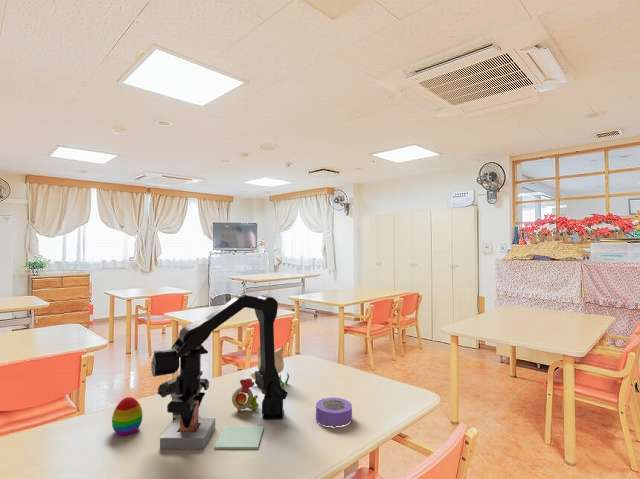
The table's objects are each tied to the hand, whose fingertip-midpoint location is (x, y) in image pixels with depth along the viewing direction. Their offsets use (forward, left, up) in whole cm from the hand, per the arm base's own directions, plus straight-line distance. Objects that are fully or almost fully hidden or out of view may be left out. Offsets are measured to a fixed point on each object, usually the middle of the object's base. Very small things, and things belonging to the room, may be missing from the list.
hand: (189, 423), depth 107 cm
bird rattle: (-13, -19, -4) cm, 23 cm away
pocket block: (0, 0, -4) cm, 4 cm away
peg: (0, 0, -4) cm, 4 cm away
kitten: (-19, -44, -4) cm, 48 cm away
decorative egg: (+20, -4, -4) cm, 21 cm away
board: (-15, 0, -4) cm, 16 cm away
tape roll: (-43, -12, -4) cm, 45 cm away
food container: (+5, -15, -4) cm, 16 cm away
